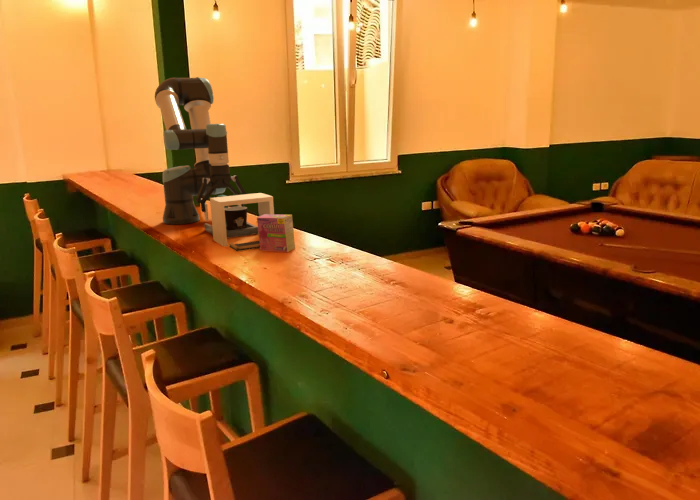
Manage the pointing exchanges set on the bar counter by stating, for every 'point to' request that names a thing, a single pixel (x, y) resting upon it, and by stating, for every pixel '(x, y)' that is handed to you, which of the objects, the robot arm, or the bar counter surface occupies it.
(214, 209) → the tunnel
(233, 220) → the coffee mug
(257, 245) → the dark slate tile
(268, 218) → the box
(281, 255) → the bar counter surface
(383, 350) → the bar counter surface
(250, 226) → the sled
